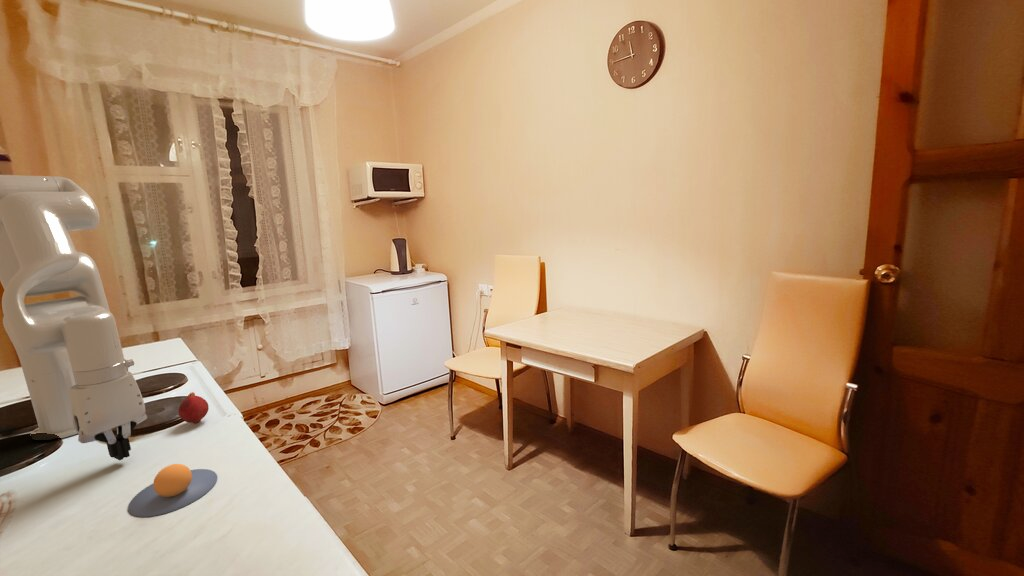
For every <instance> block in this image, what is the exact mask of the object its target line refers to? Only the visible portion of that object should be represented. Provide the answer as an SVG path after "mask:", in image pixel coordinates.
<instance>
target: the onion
mask: <svg viewBox="0 0 1024 576" xmlns="http://www.w3.org/2000/svg"><path fill="white" fill-rule="evenodd" d="M195 394H196V393H195V392H194V391H192V392H190V393H189V394H188V395H187V397H185V399H183V401H181V403H180V405H179V406H178V412H177V413H178V416H179V418H180V419H182V421H184V422H186V423H190V424H195V425H197V424H200V422H201V420H203V419H204V418H205V417H206V415H207V414H208V412H209V409H210V407H209V404H208V401H207V400H206V399H205V398H204V397H201V396H198V395H195Z"/></svg>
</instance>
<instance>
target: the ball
mask: <svg viewBox="0 0 1024 576" xmlns="http://www.w3.org/2000/svg"><path fill="white" fill-rule="evenodd" d="M190 470H191V469H190V468H189V467H188V466H186V465H184V464H182V463H172V464H169V465H167V466H165V467H163V468H161V470H160V471H159V472H158V473H157V474H156V475H155V477H154V479H153V483H152V484H153V487H154V490H155V492H156V493H157V494H158V495H160V496H163V497H173V496H176V495H178V494H180V493H182V492H183V491H184V490H186V489H187V487H188V486H189V484H190V483H191V480H192V473H191V471H190Z"/></svg>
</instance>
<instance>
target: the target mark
mask: <svg viewBox="0 0 1024 576" xmlns="http://www.w3.org/2000/svg"><path fill="white" fill-rule="evenodd" d="M190 471H191V473H192V480H191V483H190V484H189V486H188V487H187V489H186V490H184V491H183V492H182V493H180V494H178V495H176V496H173V497H163V496H160V495H158V494H157V493H156V492H155V490H154V487H153V483H151V484H150V485H148V486H146V487H145V488H143V489H142V490H141V491H139V492H138V493H137V494H136V495H135V496H134V497H132V499H131V500H130V501H129V503H128V512H129V514H130V515H131V516H134V517H139V518H151V517H156V516H160V515H166V514H168V513H171V512H174V511H177V510H180V509H182V508H185V507H186V506H190V504H192V503H195V502H196V501H197V500H199V499H201V498H202V497H204V496H205V495H206V494H207V493H209V492H210V491H211V490H212V489H213V488H214V487H215V486H216V484H217V483H218V475H217V473H216V472H215V471H214V470H212V469H205V468H198V469H197V468H196V469H190Z"/></svg>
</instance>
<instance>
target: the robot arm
mask: <svg viewBox="0 0 1024 576" xmlns="http://www.w3.org/2000/svg"><path fill="white" fill-rule="evenodd" d="M100 217H101V216H100V211H99V209H98V206H97V205H96V203H95V201H94V199H93V198H92V197H91V195H89V194H88V193H87V192H86V191H85V190H84V189H83V188H81V187H80V185H79V184H77V183H76V182H74V181H73V180H72V179H70V178H67V177H64V176H56V175H55V176H53V175H47V176H46V175H22V174H21V175H19V174H18V175H17V174H16V175H15V174H0V283H1V285H2V287H3V290H4V291H3V294H2V297H1V308H2V309H1V310H2V314H3V318H2V325H3V328H4V331H5V332H6V334H7V336H8V338H9V340H10V341H11V343H12V345H13V347H14V350H15V351H16V352H15V353H16V354H17V357H18V360H19V362H20V366H21V369H22V373H23V376H24V379H25V384H26V387H27V391H28V394H29V397H30V401H31V405H32V408H33V411H34V415H35V418H36V423H37V426H38V427H37V428H35V429H33V431H31V433H30V435H31V434H36V433H47V434H55V435H57V436H59V437H60V438H61V439H64V438H67V437H72V436H74V435H77V434H78V437H77V438H78V442H79V443H80V444H87V443H92V442H96V441H98V442H101V443H105V444H106V447H107V451H108V455H109V457H110V458H112V459H116V460H117V461H122V460H124V458H125V459H126V458H129V457H130V456H131V455H130V451H131V450H132V448H131V443H130V440H129V439H130V437H131V436H132V435H131V433H132V432H133V430H134V429H135V427H136V426H137V425H139V424H140V423H142V422H144V421H146V420H147V419H148V415H147V414H146V412H147V411H146V405H145V402H144V398H143V396H142V393H141V392H142V391H141V390H140V388H139V385H138V383H137V381H136V379H135V376H134V375H133V374H132V372H130V371H129V368H130V367H134V366H135V362H134V360H133V359H125V356H124V353H123V352H124V351H123V347H122V343H121V339H120V334H119V331H118V326H117V322H116V318H115V316H114V314H113V313H112V312H111V310H110V306H109V303H108V299H107V296H106V292H105V289H104V285H103V280H102V278H101V274H100V272H99V267H98V266H97V263H96V261H95V260H94V258H92V257H91V256H90V255H89V254H87V253H85V252H82V251H77V249H76V246H75V244H74V241H73V240H72V237H71V235H70V233H69V232H74V231H91V230H95V229H96V228H97V227H98V226H99V224H100ZM68 292H69V293H71V292H73V293H75V294H76V295H77V296H71V297H70V296H69V297H64V298H63V297H62V298H58V299H48V300H42V301H35V302H30V303H25V298H33V297H40V296H48V295H55V294H56V295H57V294H60V293H68ZM115 428H116V436H115V434H114V432H113V429H115Z"/></svg>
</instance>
